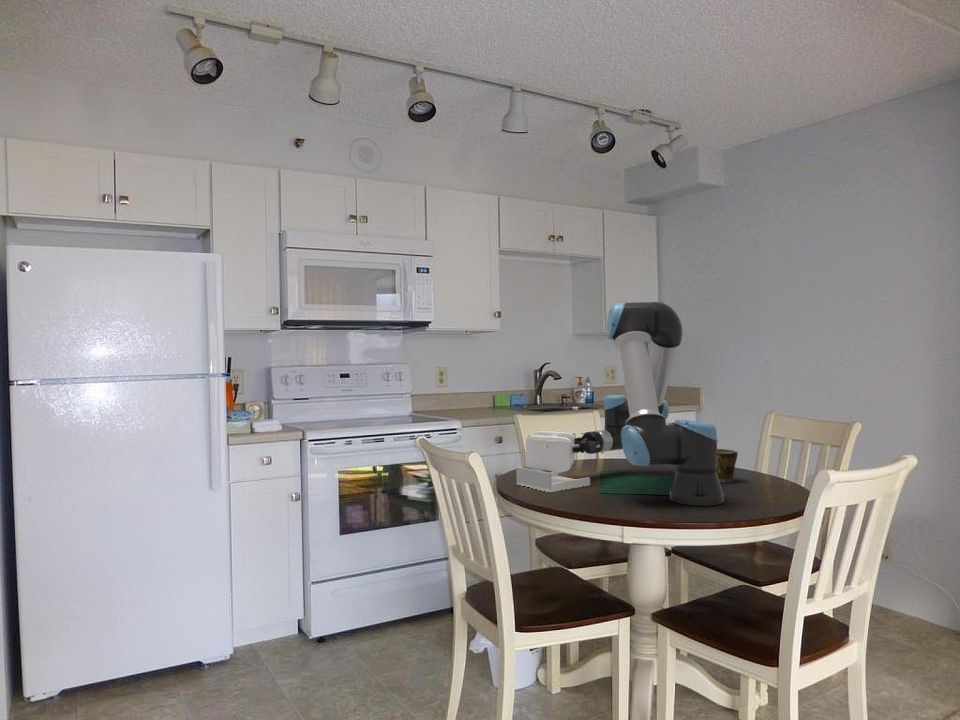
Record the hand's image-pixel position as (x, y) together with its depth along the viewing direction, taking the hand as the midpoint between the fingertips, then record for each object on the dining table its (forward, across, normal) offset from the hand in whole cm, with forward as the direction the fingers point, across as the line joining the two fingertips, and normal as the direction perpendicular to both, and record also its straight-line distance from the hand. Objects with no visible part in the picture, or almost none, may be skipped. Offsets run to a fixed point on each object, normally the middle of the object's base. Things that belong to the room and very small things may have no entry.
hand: (550, 448), depth 227 cm
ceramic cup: (-47, -32, -12) cm, 58 cm away
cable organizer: (0, 0, -7) cm, 7 cm away
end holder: (-1, 0, -12) cm, 12 cm away
